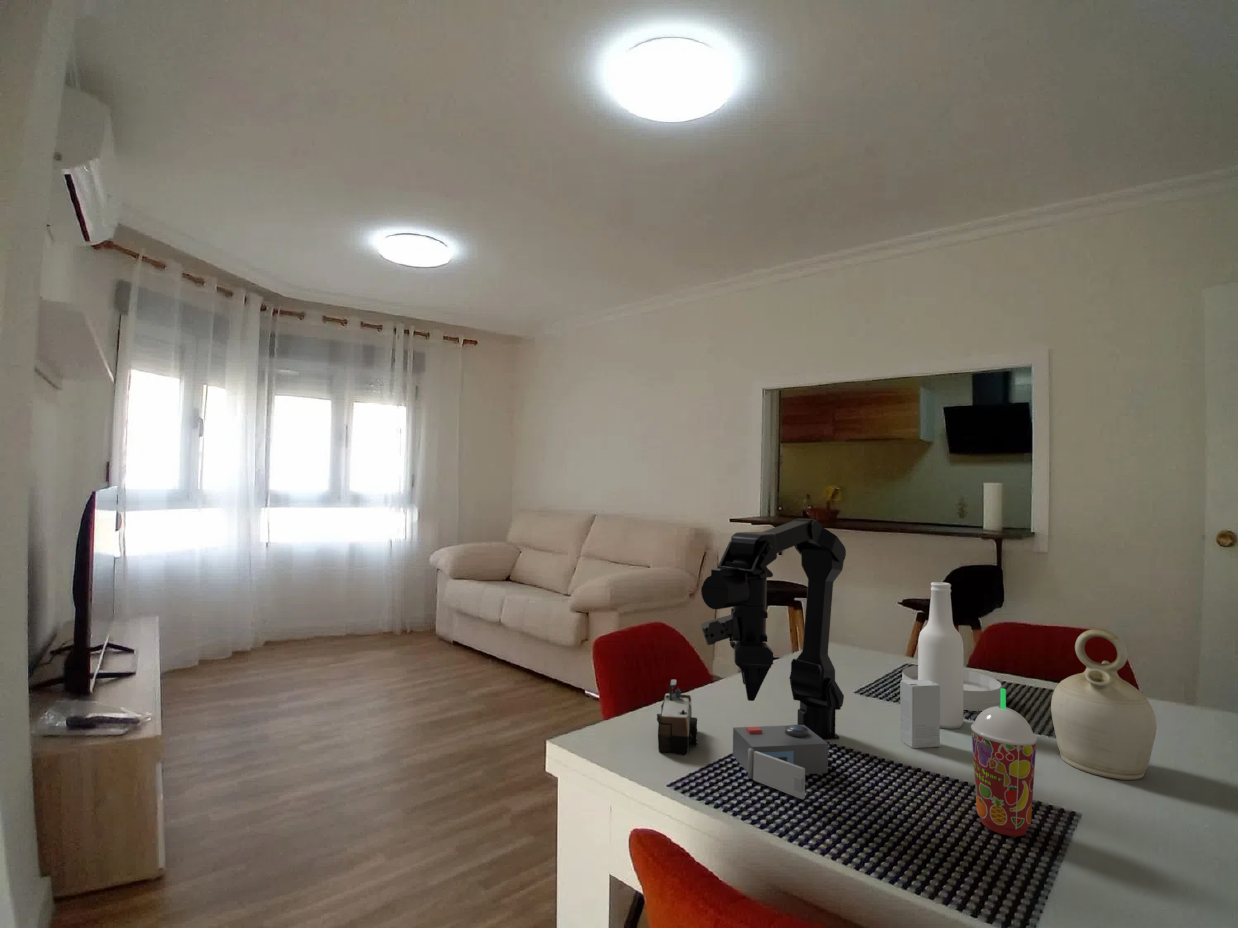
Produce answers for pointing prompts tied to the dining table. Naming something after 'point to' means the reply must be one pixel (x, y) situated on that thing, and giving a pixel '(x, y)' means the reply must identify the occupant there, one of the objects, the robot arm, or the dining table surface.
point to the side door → (776, 773)
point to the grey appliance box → (783, 746)
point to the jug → (1103, 717)
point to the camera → (676, 723)
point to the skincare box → (920, 713)
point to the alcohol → (943, 656)
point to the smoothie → (1004, 769)
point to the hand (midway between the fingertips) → (748, 692)
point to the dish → (970, 689)
